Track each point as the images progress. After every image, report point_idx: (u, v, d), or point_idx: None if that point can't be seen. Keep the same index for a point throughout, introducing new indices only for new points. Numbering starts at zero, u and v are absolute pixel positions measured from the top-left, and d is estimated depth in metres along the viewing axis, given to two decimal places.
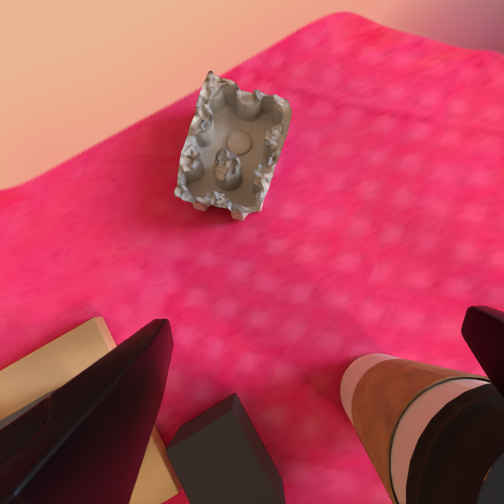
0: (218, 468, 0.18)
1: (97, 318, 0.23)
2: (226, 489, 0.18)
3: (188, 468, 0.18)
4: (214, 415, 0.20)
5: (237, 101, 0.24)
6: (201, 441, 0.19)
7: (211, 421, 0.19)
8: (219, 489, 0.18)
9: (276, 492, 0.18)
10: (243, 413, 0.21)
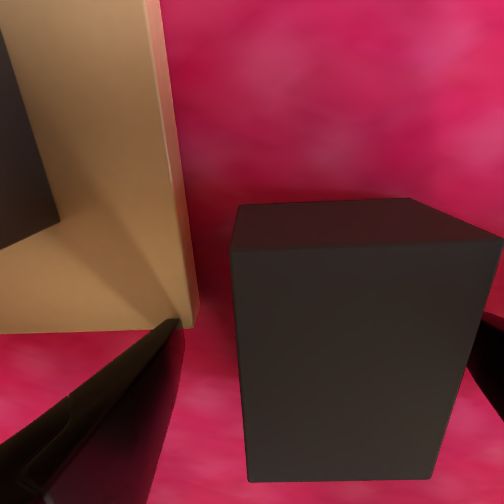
0: (356, 356, 0.06)
1: None
2: (342, 400, 0.07)
3: (278, 323, 0.06)
4: (398, 224, 0.06)
5: None
6: (356, 279, 0.05)
7: (411, 238, 0.05)
8: (327, 394, 0.07)
9: None
10: None
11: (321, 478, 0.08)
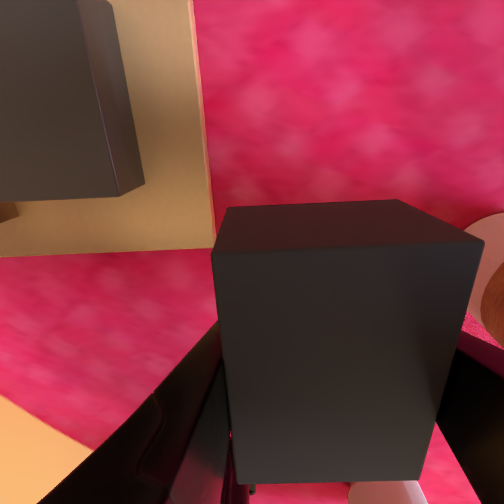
0: (340, 359, 0.06)
1: None
2: (328, 402, 0.07)
3: (261, 325, 0.06)
4: (381, 226, 0.06)
5: None
6: (337, 281, 0.05)
7: (391, 239, 0.05)
8: (313, 396, 0.07)
9: None
10: None
11: (310, 480, 0.08)
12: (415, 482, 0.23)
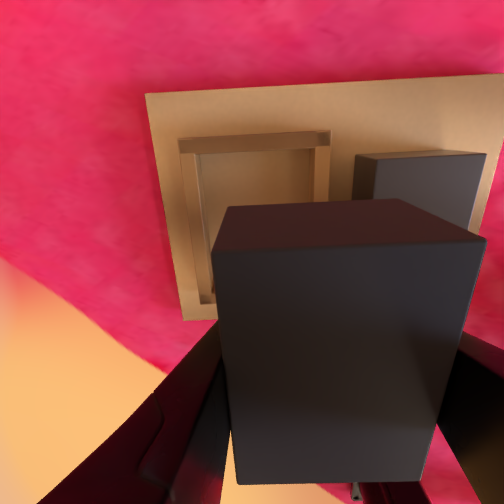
0: (341, 358, 0.06)
1: None
2: (329, 402, 0.07)
3: (262, 325, 0.06)
4: (382, 225, 0.06)
5: None
6: (338, 280, 0.05)
7: (393, 238, 0.05)
8: (314, 396, 0.07)
9: None
10: None
11: (311, 480, 0.08)
12: None
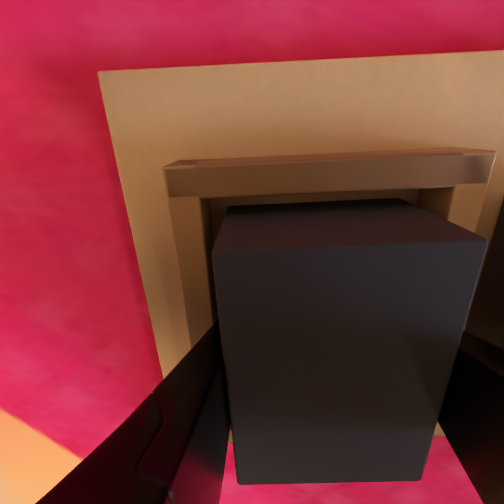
0: (342, 358, 0.06)
1: None
2: (329, 402, 0.07)
3: (262, 325, 0.06)
4: (383, 224, 0.06)
5: None
6: (339, 279, 0.05)
7: (394, 237, 0.05)
8: (315, 396, 0.07)
9: None
10: None
11: (311, 480, 0.08)
12: None
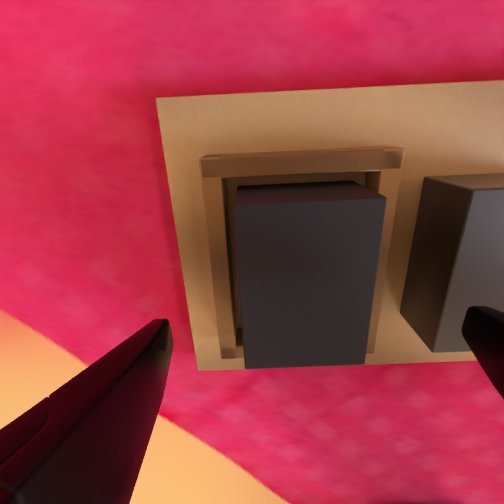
0: (309, 272, 0.10)
1: None
2: (303, 303, 0.11)
3: (261, 251, 0.10)
4: (333, 192, 0.10)
5: None
6: (305, 222, 0.10)
7: (335, 197, 0.09)
8: (293, 300, 0.11)
9: None
10: None
11: (293, 364, 0.12)
12: None
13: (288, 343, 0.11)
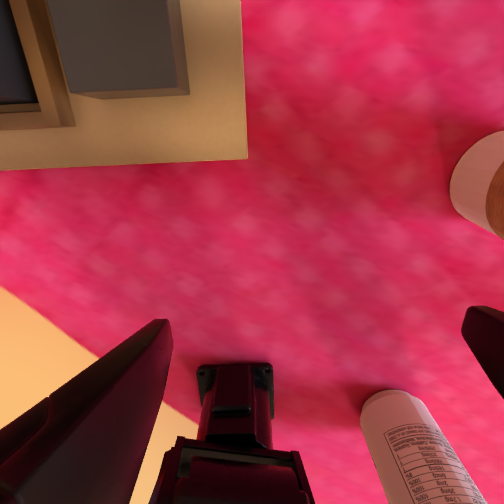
0: None
1: None
2: None
3: None
4: None
5: None
6: None
7: None
8: None
9: None
10: None
11: None
12: (423, 403, 0.25)
13: None
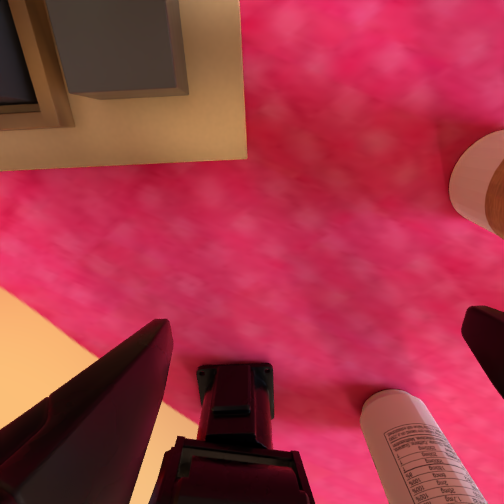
0: None
1: None
2: None
3: None
4: None
5: None
6: None
7: None
8: None
9: None
10: None
11: None
12: (423, 403, 0.25)
13: None
